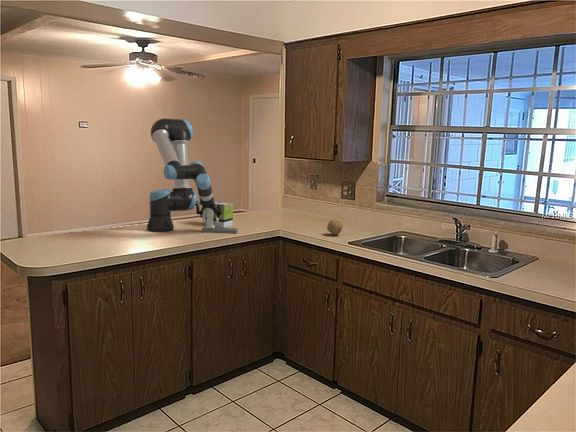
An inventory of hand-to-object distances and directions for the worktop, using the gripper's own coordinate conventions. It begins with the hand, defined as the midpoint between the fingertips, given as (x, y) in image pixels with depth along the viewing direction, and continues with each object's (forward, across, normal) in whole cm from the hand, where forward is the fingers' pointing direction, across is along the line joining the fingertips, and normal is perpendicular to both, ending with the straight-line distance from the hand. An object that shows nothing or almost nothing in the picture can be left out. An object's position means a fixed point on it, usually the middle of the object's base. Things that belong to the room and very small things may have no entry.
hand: (211, 220), depth 276 cm
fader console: (+2, +6, -7) cm, 9 cm away
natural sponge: (+4, +73, -5) cm, 73 cm away
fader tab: (0, 0, -5) cm, 5 cm away
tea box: (+16, +2, +7) cm, 18 cm away
